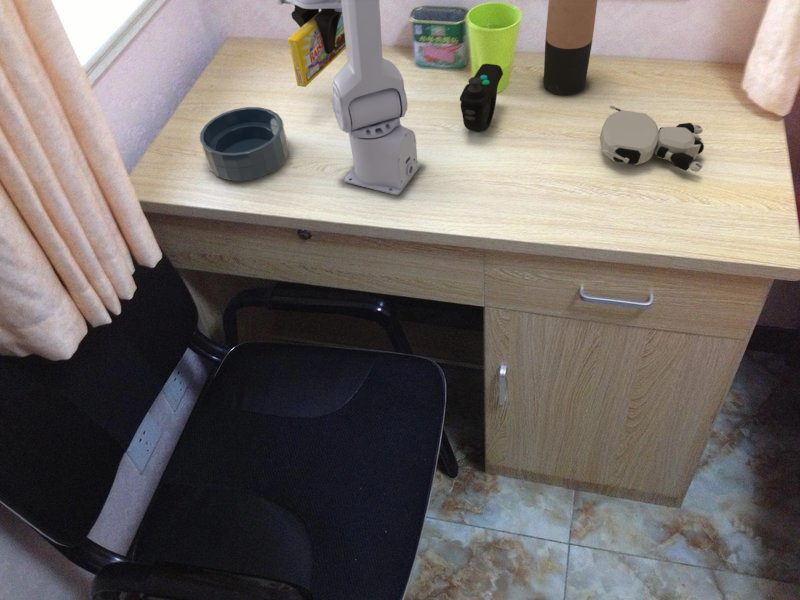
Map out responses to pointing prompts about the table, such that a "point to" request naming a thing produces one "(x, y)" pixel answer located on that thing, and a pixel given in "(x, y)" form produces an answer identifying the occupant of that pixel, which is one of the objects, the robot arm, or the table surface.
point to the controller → (480, 98)
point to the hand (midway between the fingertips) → (324, 49)
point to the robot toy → (649, 140)
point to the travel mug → (568, 45)
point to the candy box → (313, 51)
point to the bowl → (244, 143)
